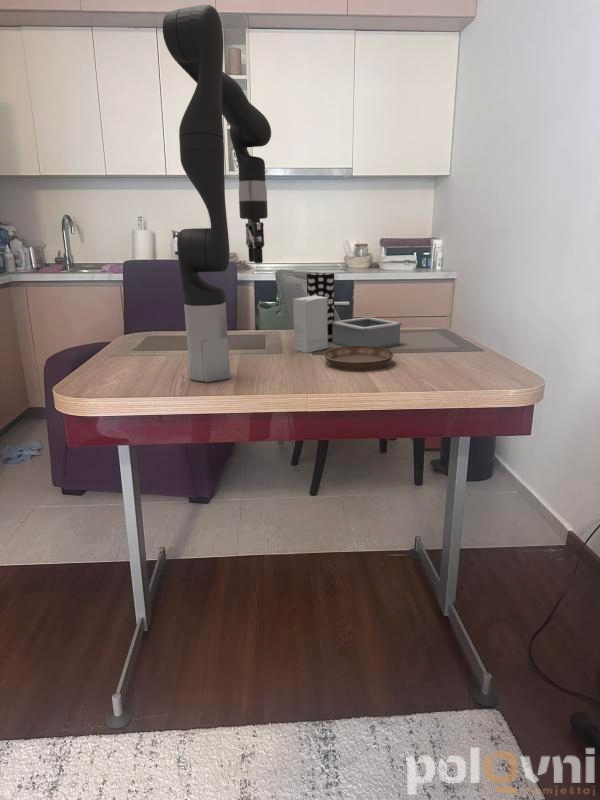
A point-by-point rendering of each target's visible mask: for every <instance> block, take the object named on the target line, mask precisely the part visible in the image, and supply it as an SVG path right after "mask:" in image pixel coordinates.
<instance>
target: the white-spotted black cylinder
mask: <svg viewBox="0 0 600 800" xmlns="http://www.w3.org/2000/svg"><path fill="white" fill-rule="evenodd" d="M313 295H316V296H322V297H327V298H328V299H327V318H328V319H327V321H328V343H330V342H332V324H331V322H334V321H335V273H333V272H311V273H310V272H309V273H306V297H308V296H313Z"/></svg>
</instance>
